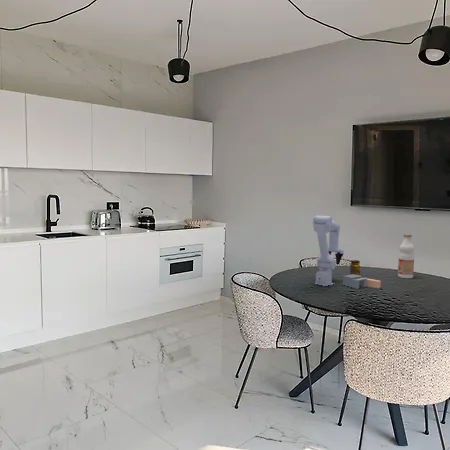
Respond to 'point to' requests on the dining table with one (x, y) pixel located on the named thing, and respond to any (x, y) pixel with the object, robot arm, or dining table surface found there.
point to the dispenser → (354, 281)
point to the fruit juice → (406, 258)
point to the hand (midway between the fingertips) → (333, 263)
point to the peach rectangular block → (373, 283)
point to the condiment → (355, 267)
